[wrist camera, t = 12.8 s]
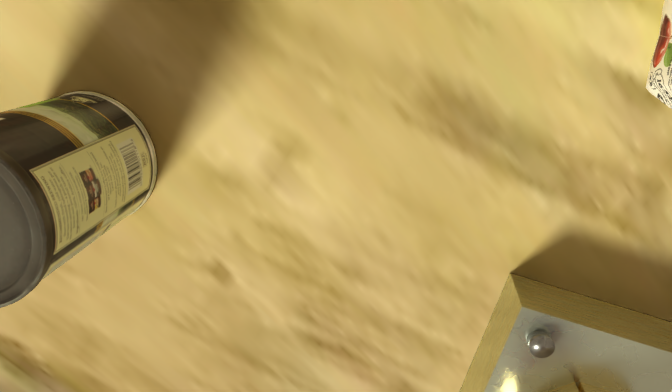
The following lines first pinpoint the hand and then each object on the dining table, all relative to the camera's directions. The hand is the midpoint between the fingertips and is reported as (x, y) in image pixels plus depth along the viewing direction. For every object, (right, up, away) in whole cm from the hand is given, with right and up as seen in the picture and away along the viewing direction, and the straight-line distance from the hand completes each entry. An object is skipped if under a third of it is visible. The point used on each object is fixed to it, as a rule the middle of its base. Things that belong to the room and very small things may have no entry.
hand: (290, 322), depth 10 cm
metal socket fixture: (+18, -14, +35) cm, 42 cm away
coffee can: (-18, +5, +34) cm, 38 cm away
